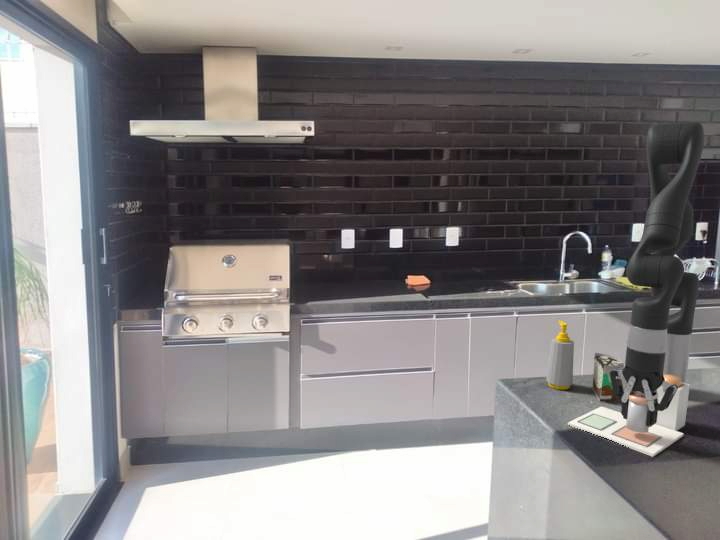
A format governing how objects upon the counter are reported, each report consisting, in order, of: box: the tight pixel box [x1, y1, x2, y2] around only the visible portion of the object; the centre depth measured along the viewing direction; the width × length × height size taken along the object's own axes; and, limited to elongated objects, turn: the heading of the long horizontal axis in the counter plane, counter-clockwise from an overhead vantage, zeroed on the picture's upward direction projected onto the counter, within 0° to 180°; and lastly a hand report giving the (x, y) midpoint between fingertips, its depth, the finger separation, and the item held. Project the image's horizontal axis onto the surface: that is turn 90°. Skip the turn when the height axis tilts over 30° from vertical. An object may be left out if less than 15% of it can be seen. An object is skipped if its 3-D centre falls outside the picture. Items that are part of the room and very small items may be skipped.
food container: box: [592, 352, 625, 403], centre depth 147 cm, size 12×6×10 cm, turn 168°
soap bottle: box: [545, 320, 575, 391], centre depth 153 cm, size 7×7×18 cm
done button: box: [663, 374, 681, 388], centre depth 130 cm, size 4×4×2 cm
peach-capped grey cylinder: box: [626, 391, 649, 433], centre depth 122 cm, size 5×5×8 cm
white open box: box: [656, 382, 691, 431], centre depth 130 cm, size 6×6×10 cm
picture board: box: [567, 406, 684, 458], centre depth 127 cm, size 16×19×1 cm
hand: (637, 421), depth 123 cm, fingers closed on peach-capped grey cylinder, 4 cm apart
